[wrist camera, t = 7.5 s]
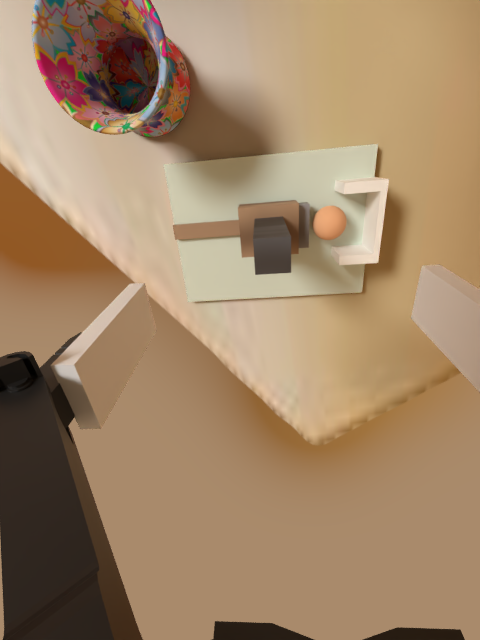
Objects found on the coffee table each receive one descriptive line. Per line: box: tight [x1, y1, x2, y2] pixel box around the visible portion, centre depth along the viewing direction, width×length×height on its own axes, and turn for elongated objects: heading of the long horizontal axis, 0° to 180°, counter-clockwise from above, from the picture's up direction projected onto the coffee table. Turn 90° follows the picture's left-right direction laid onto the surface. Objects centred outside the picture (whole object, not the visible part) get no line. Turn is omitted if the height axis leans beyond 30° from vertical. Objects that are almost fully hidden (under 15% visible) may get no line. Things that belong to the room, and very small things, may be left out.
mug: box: [32, 0, 190, 137], centre depth 25 cm, size 12×9×11 cm
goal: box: [331, 177, 389, 265], centre depth 32 cm, size 8×4×4 cm, turn 5°
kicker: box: [238, 200, 310, 275], centre depth 28 cm, size 5×7×12 cm
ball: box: [312, 206, 347, 240], centre depth 32 cm, size 4×4×4 cm
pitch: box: [164, 144, 378, 302], centre depth 35 cm, size 16×22×2 cm
